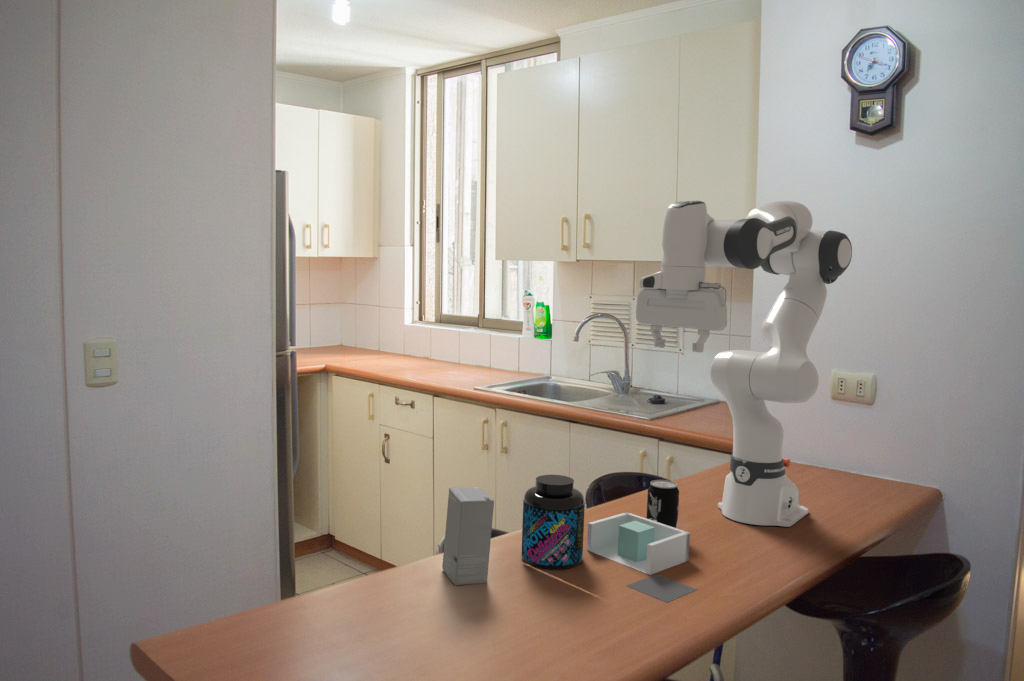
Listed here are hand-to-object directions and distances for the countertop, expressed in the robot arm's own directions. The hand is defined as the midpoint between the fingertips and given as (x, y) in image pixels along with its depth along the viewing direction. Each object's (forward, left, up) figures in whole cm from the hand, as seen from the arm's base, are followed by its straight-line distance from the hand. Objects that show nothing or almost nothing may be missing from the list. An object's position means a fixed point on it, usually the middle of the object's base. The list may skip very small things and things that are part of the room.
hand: (678, 349), depth 158 cm
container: (+25, -9, -41) cm, 49 cm away
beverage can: (-3, -4, -41) cm, 42 cm away
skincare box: (+43, -13, -41) cm, 61 cm away
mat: (+19, +13, -41) cm, 47 cm away
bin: (+10, 0, -41) cm, 42 cm away
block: (+10, 0, -41) cm, 42 cm away
